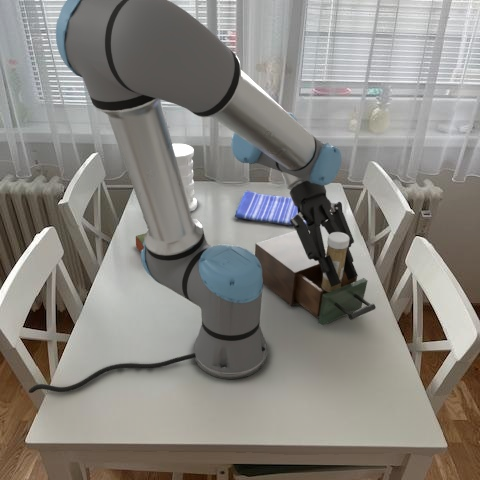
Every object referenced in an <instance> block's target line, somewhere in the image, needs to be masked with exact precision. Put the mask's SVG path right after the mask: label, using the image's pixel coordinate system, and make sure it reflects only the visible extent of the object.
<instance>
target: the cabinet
mask: <svg viewBox="0 0 480 480" xmlns="http://www.w3.org/2000/svg"><path fill="white" fill-rule="evenodd" d="M324 248H325V253H327V247H326V246H324ZM254 255H255V256H256V257H257V259H258V260H259V262H260V264H261V267H262V278H263V285H265V286H266V287H267V288H268V289H269V290H271V291H272V292H273V293H274V294H276V296H278V297H279V298H280V299H282V300H283V301H284V302H285V303H286V304H287V305H288V306H290V307H293V306H296V305H298V304H299V303H298V302H297V301H296V300H294V299H295V290H296V280H297V275H298V274H300V273H303V272H306V271H308V270H311V269H314V268H316V267H319V266H320V265H319V262H318V260H317V261H314V259H311V260H310V259H308V257H307V254H306V252H305V250H304V248H303V245H302V243H301V241H300V238H299V236H298V234H297V231H296V229H295V230H293V231H289V232H287V233H283V234H280V235H276V236H274V237H271V238H268V239H267V238H266V239H265V240H261V241H258V242H255V245H254ZM325 257H326V256H325Z"/></svg>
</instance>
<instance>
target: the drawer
mask: <svg viewBox="0 0 480 480" xmlns="http://www.w3.org/2000/svg"><path fill="white" fill-rule="evenodd" d="M322 281H323V272H322V269H321V267H320V266H319V267H316V268H314V269H311V270H308V271H306V272H303V273H300V274H298V275H297V280H296V290H295V299H294V300H296V301H297V302H298V304H299V305H300V306H301V307H303V308H304V309H305V310H307V312H309V313H310V314H312V315H313V316H314V317H315V318H318V324H319V325H320V326H324V325H326V324H328V323H331V322H333V321H335V320H337V319H340V318H342V317H344V316H347V318H348V319H349V320H350V321H352V320H355V319H357V318H359V317H361V316H364V315H365V314H368V313H370V312H372V311H374V310H376V305H375V303H370V302H369V301H367V300H366V299H365V294H366V290H367V285H368V280H367V279H366V278H364V277H362V278H360V279H358V276H357V277H355V278H352V279H350V280H348V279H347V276H346V274H345V271H343V277H342V281H341V288H338V289H336V290H334V291H331V292H326V291H324V290H323V289H322V287H321V285H322ZM363 305H364V306H363Z"/></svg>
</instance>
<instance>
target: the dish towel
mask: <svg viewBox="0 0 480 480" xmlns="http://www.w3.org/2000/svg"><path fill="white" fill-rule="evenodd" d="M297 211H298V209H297V207H296V206H295V205H294V203H293V200H292V198H291V197H286V196H279V195H272V194H263V193H257V192H254V191H251V190H247V191H245V192H244V193H243V195H242V198H241V199H240V202H239V204H238V206H237V209H236V211H235V214H234V216H235V218H236V219H243V220H248V221H253V222H261V223H263V222H264V223H271V224H279V225H286V226H293V225H292V224H291V223H290V219H291V218H293V217H294V216H296V215H297V214H298V213H297ZM304 222H305V224H306V226H307V223H306V221H305V220H304Z"/></svg>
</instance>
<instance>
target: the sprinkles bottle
mask: <svg viewBox="0 0 480 480" xmlns="http://www.w3.org/2000/svg"><path fill="white" fill-rule="evenodd" d="M349 239H350V238H349V236H348V235H347V234H345V233H342V232H333V233H331V234H328V236H327V242H326V243H327V247H326V248H327V253H326V256H329V255H330V257H331V260H332V262H333V265H334V267H335V270H336V272H337V274H338V277H339V279H340V282H341V281H342V277H343V271H344V265H345V257H346V252H347V248H348V245H349ZM321 287H322V289H323V290H324V291H326V292H331V291H334V290H336V289H338V288H341V283H340V284H338V285H335V286H333V287H331V285H330V283H329V280H328V278H327V275H326V273H323V281H322V285H321Z"/></svg>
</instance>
